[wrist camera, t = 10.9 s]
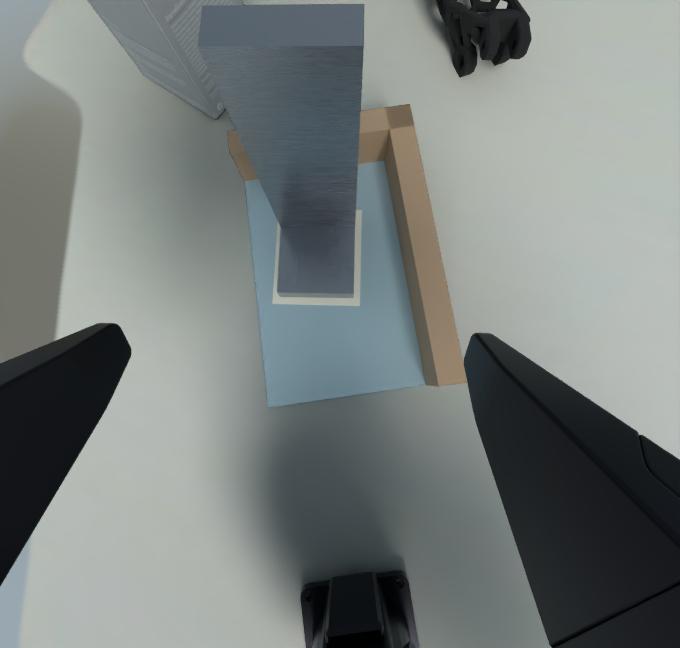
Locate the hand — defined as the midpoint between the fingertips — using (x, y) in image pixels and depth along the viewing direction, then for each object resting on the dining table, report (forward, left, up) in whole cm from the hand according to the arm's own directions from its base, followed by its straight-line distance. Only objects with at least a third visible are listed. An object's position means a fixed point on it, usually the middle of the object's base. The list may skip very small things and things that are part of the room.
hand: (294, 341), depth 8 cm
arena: (+7, -2, -14) cm, 15 cm away
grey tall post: (+7, 0, -13) cm, 15 cm away
